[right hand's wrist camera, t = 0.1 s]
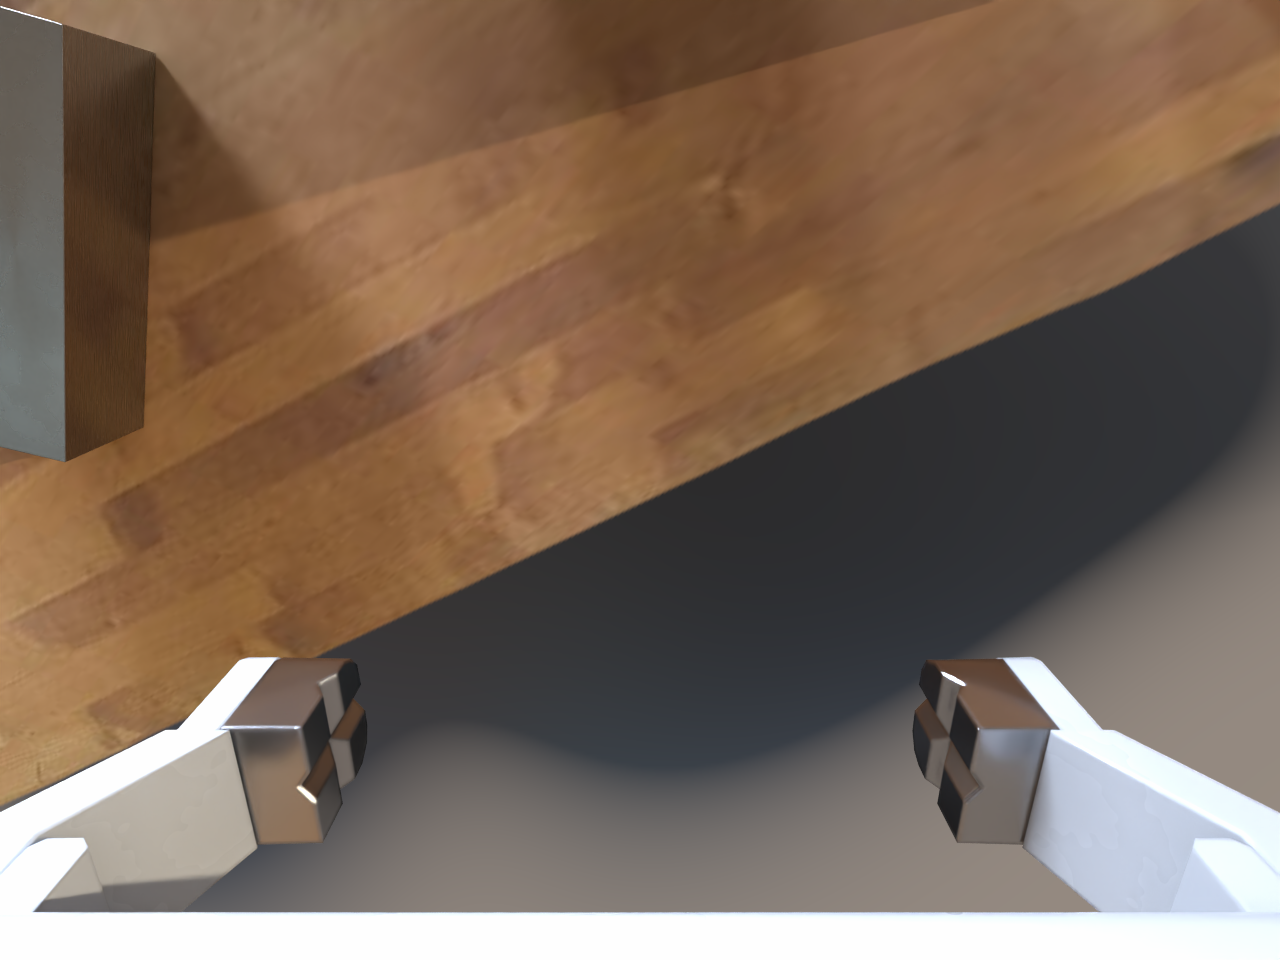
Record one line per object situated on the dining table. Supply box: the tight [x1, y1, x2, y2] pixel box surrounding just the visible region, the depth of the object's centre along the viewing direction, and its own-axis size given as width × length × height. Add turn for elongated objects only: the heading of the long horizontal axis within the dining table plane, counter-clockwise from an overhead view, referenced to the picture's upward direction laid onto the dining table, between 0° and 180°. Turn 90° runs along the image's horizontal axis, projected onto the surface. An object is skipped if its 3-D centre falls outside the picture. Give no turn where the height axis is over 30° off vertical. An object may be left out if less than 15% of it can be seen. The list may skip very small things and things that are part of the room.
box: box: [0, 6, 155, 462], centre depth 50 cm, size 27×6×9 cm, turn 165°
